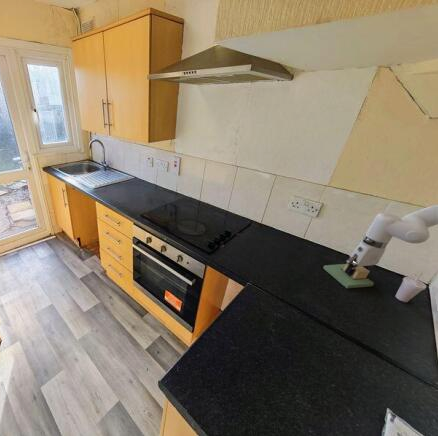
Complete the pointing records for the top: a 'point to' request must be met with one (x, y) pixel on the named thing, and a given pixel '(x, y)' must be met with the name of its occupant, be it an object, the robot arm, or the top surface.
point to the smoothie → (409, 288)
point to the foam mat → (346, 277)
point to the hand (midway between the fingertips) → (354, 273)
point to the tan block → (358, 272)
